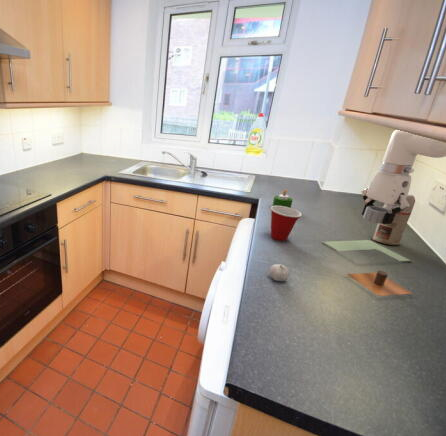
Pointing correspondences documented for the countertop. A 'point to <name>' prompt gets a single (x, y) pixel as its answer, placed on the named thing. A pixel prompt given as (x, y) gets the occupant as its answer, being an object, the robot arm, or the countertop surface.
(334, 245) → the mat
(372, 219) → the tape roll
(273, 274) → the garlic
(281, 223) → the plastic cup
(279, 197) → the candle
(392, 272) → the countertop surface
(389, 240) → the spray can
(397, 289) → the stand
